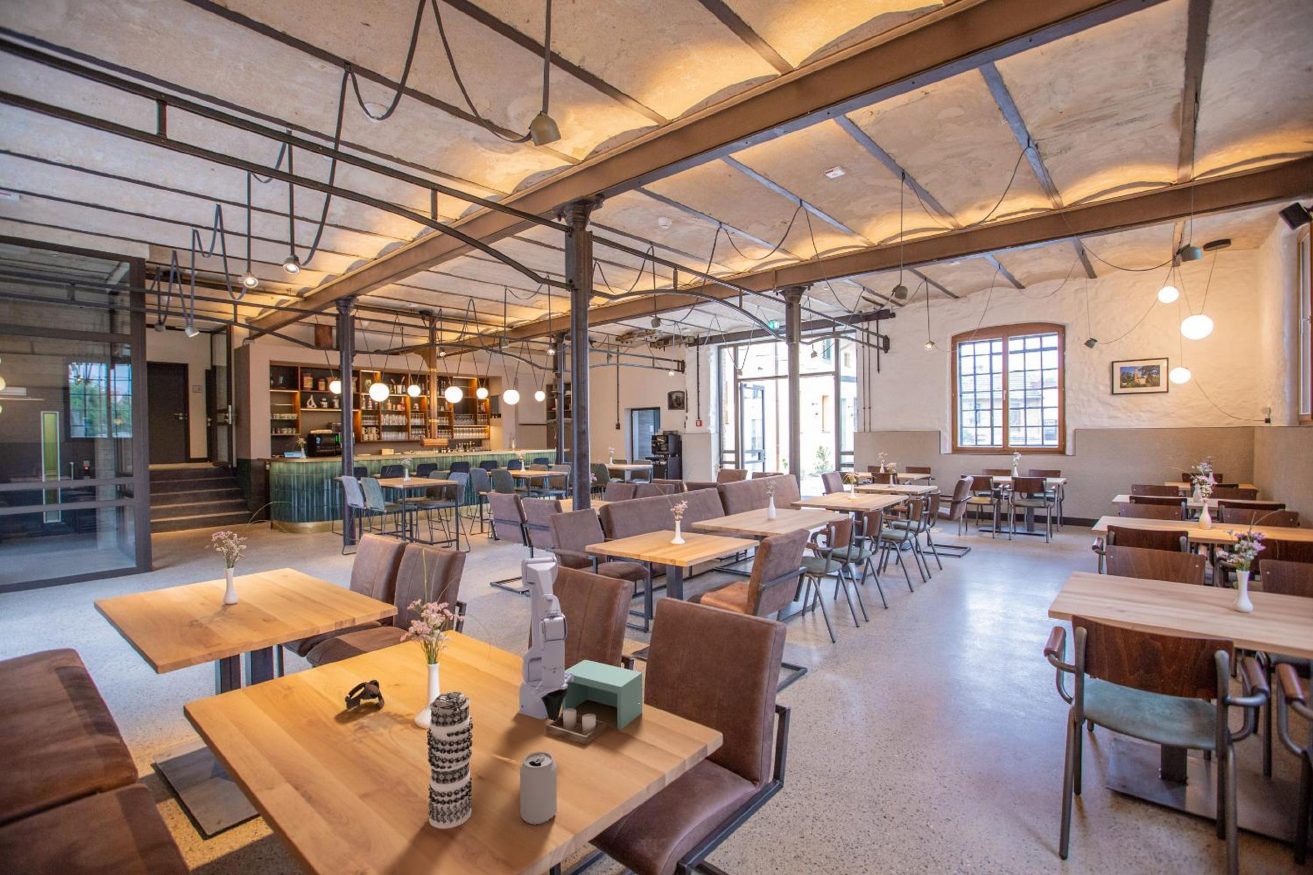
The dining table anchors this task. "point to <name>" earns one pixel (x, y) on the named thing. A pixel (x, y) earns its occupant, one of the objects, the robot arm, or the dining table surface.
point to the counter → (606, 689)
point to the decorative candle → (450, 760)
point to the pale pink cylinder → (588, 723)
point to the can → (538, 788)
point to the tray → (575, 730)
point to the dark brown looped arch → (365, 694)
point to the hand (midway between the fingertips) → (553, 718)
